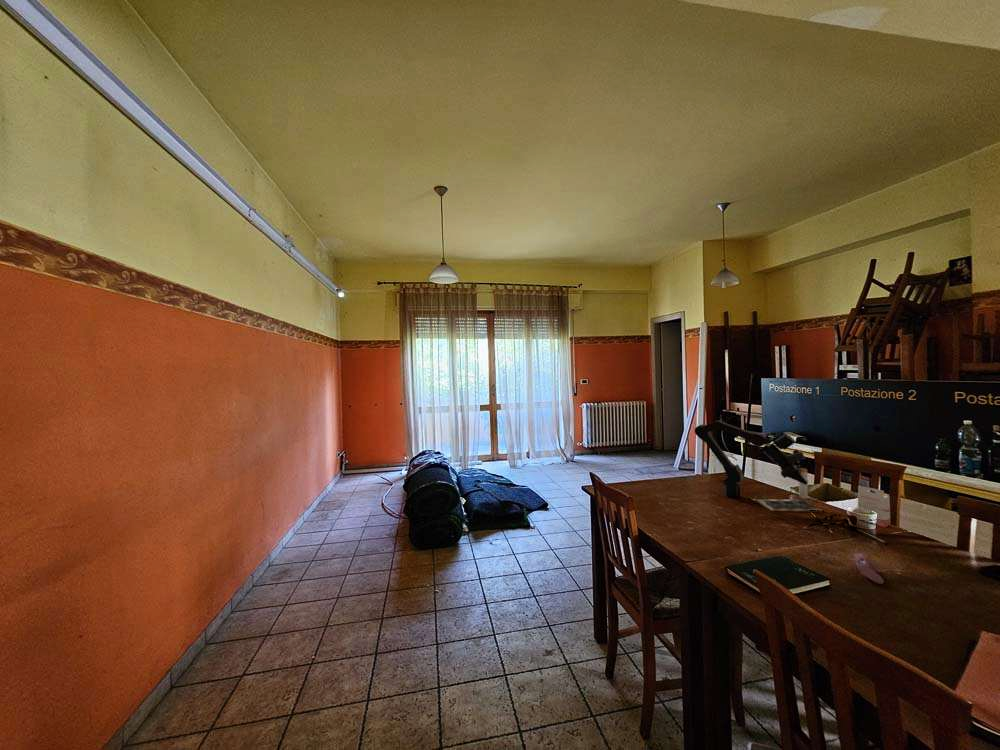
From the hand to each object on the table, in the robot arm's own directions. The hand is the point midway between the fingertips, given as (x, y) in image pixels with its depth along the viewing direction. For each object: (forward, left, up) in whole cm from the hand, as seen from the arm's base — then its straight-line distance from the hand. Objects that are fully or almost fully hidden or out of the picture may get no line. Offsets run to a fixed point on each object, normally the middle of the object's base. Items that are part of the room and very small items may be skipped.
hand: (807, 483), depth 169 cm
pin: (-1, +1, -7) cm, 7 cm away
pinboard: (-7, +4, -12) cm, 14 cm away
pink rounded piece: (-20, -56, -12) cm, 60 cm away
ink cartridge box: (+16, -14, -12) cm, 25 cm away
